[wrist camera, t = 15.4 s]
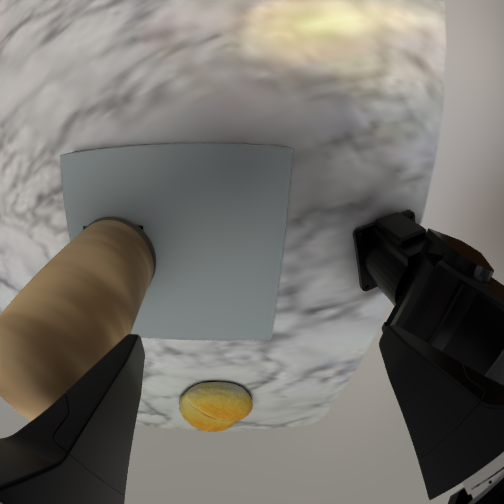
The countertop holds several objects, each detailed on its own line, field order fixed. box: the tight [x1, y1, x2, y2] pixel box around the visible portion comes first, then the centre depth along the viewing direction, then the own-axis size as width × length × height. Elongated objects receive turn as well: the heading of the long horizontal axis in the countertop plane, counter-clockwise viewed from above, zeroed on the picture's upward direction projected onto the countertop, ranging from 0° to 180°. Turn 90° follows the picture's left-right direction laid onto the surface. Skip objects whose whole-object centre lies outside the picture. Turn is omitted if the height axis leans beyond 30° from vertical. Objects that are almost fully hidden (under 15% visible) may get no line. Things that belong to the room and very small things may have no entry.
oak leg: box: [0, 216, 156, 421], centre depth 13 cm, size 6×6×15 cm
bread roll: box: [179, 382, 253, 432], centre depth 28 cm, size 8×9×4 cm
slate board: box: [60, 143, 294, 340], centre depth 20 cm, size 16×16×2 cm
